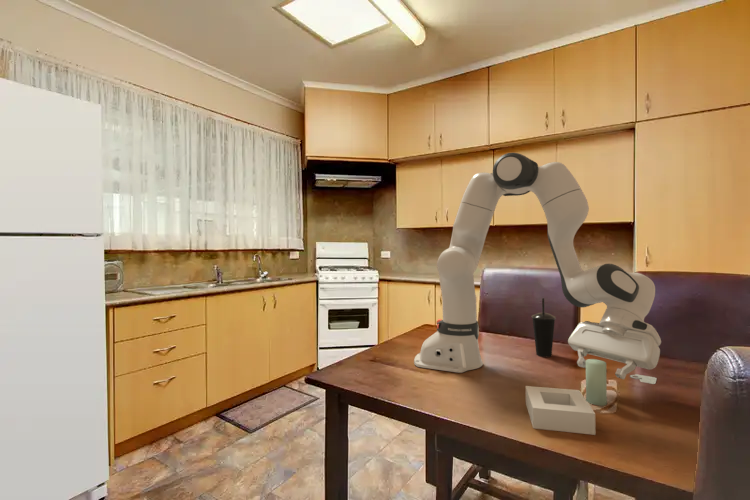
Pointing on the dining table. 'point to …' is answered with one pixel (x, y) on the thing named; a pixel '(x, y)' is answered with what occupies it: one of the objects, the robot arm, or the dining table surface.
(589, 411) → the well block
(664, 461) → the dining table surface
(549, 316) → the drinking cup
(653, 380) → the mounting bracket
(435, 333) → the robot arm
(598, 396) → the green dowel
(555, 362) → the dining table surface
